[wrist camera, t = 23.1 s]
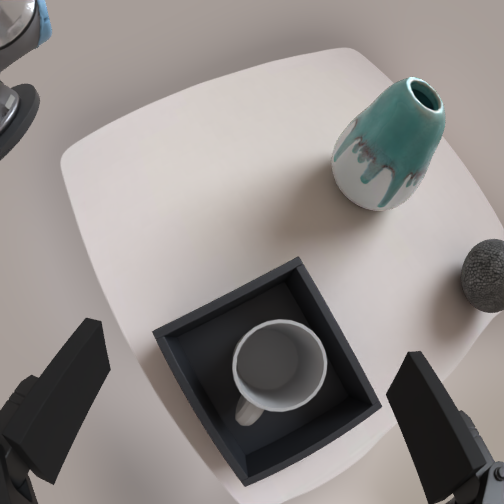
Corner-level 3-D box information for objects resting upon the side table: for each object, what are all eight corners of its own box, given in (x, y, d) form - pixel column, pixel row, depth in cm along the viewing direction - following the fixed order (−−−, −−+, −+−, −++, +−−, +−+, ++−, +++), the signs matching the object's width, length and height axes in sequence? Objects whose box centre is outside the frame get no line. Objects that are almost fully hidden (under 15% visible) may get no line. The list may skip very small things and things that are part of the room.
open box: (168, 334, 30) (151, 331, 24) (285, 273, 33) (298, 256, 27) (242, 460, 27) (245, 487, 20) (354, 396, 29) (382, 406, 23)
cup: (312, 344, 30) (342, 343, 22) (269, 425, 27) (283, 454, 19) (252, 313, 31) (260, 302, 22) (207, 395, 28) (198, 416, 19)
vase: (407, 221, 37) (490, 150, 20) (331, 221, 36) (399, 128, 19) (387, 152, 40) (444, 70, 23) (317, 146, 39) (357, 44, 22)
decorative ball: (475, 331, 32) (524, 322, 23) (438, 287, 34) (487, 268, 25) (495, 281, 35) (539, 264, 26) (462, 238, 37) (504, 213, 27)
